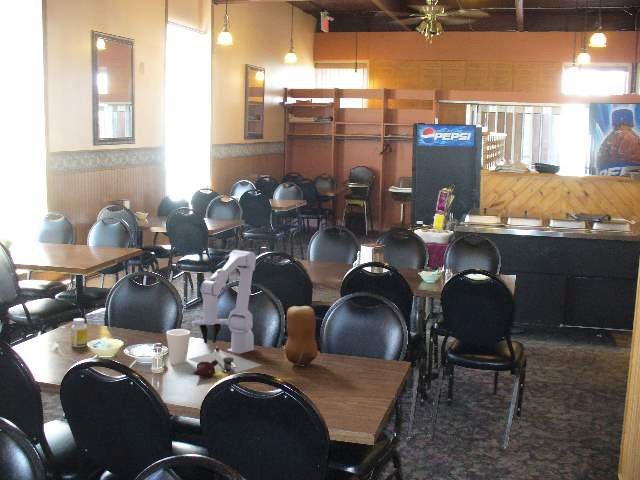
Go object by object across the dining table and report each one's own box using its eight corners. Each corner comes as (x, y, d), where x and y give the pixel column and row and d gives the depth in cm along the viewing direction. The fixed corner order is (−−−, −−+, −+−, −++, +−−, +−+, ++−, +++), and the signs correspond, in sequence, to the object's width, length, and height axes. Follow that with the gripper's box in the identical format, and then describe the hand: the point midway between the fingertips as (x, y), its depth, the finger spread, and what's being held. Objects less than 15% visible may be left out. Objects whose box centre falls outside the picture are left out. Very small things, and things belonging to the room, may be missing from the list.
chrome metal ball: (228, 370, 312) (228, 359, 311) (236, 373, 308) (237, 362, 308) (219, 372, 308) (219, 362, 307) (227, 375, 305) (227, 364, 304)
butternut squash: (295, 358, 331) (297, 300, 327) (323, 364, 324) (325, 305, 320) (277, 366, 319) (279, 306, 315) (305, 372, 312) (308, 312, 309)
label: (236, 367, 313) (236, 366, 313) (226, 368, 312) (226, 367, 312) (231, 363, 319) (232, 361, 319) (222, 363, 317) (222, 362, 317)
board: (221, 352, 335) (221, 350, 335) (262, 366, 318) (262, 365, 318) (187, 360, 322) (187, 359, 322) (229, 375, 305) (229, 374, 305)
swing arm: (234, 370, 307) (234, 359, 306) (224, 371, 305) (224, 360, 305) (221, 356, 325) (221, 346, 324) (211, 357, 323) (212, 346, 322)
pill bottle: (90, 345, 338) (90, 319, 336) (78, 348, 332) (78, 322, 331) (80, 342, 341) (79, 316, 340) (68, 345, 336) (67, 319, 334)
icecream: (203, 369, 292) (225, 362, 305) (188, 361, 295) (210, 354, 308) (198, 386, 293) (220, 378, 306) (183, 377, 296) (206, 370, 309)
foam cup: (184, 367, 313) (184, 336, 311) (162, 365, 315) (163, 334, 313) (192, 360, 322) (193, 330, 320) (171, 358, 324) (172, 328, 322)
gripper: (194, 313, 307) (194, 346, 310) (230, 311, 313) (229, 343, 315) (190, 309, 314) (190, 341, 316) (225, 307, 319) (224, 339, 322)
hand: (209, 342), depth 316 cm, fingers open, 3 cm apart
